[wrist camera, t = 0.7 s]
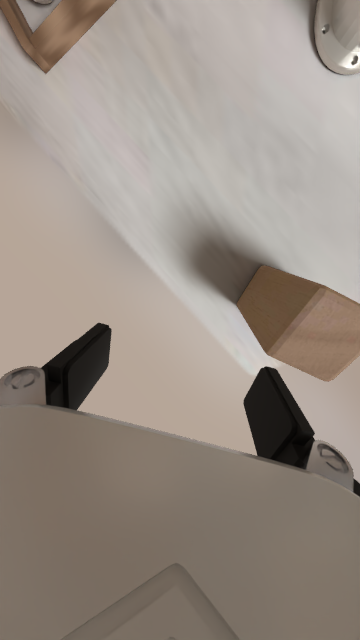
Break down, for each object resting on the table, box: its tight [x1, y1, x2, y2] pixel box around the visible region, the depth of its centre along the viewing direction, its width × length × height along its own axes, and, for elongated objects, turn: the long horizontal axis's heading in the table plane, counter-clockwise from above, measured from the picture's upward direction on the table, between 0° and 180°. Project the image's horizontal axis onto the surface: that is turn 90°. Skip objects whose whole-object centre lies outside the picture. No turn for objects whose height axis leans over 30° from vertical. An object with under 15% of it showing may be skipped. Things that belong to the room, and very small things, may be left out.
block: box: [237, 265, 360, 381], centre depth 30 cm, size 10×10×20 cm
